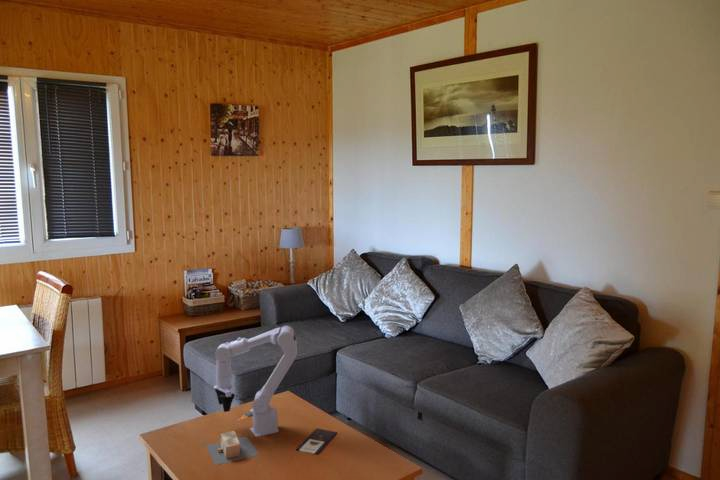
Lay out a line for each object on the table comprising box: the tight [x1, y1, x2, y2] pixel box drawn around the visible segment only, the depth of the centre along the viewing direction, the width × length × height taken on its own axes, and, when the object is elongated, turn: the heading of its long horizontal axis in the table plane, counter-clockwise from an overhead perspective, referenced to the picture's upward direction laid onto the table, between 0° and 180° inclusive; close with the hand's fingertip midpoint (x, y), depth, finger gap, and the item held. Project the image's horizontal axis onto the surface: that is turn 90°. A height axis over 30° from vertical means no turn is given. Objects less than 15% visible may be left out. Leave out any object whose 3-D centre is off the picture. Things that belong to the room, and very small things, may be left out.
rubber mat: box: [205, 436, 260, 466], centre depth 213 cm, size 16×16×1 cm
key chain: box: [237, 408, 253, 421], centre depth 242 cm, size 13×4×2 cm, turn 152°
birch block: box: [220, 430, 240, 459], centre depth 211 cm, size 5×5×8 cm
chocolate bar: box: [295, 428, 338, 456], centre depth 220 cm, size 9×1×18 cm
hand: (224, 407), depth 227 cm, fingers open, 7 cm apart
